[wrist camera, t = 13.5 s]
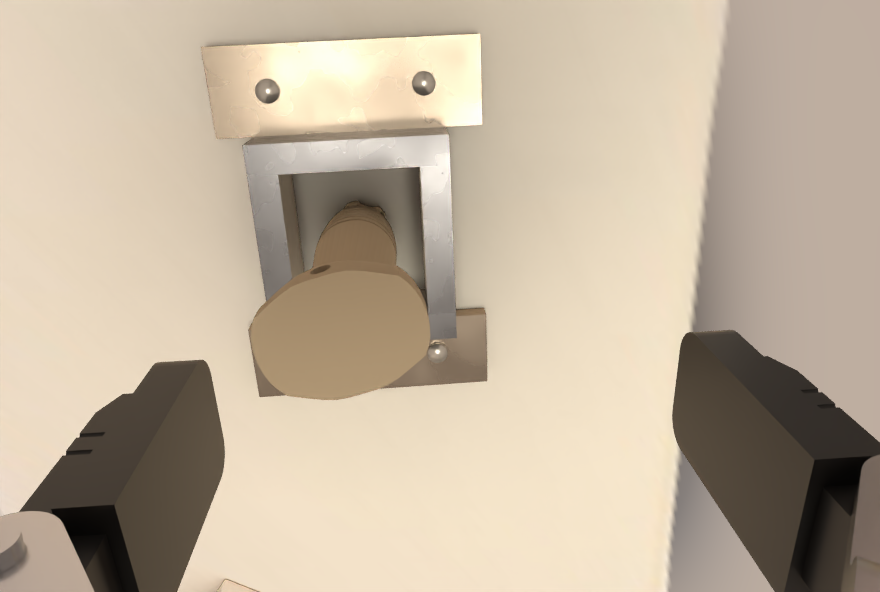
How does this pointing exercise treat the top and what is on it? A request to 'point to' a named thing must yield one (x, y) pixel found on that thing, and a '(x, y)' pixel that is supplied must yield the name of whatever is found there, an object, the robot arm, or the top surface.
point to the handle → (343, 315)
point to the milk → (233, 587)
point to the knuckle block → (356, 155)
